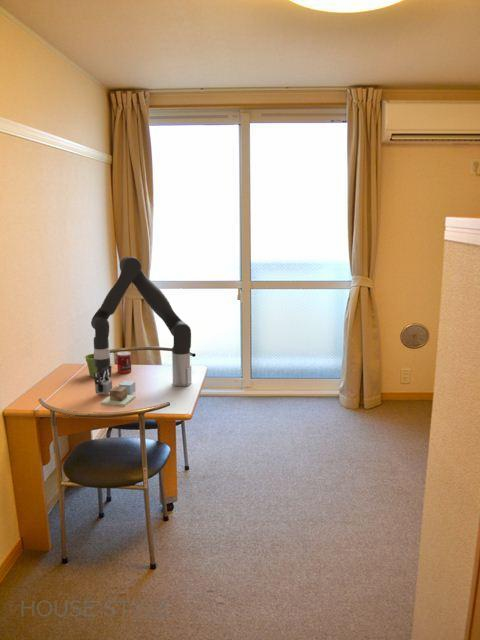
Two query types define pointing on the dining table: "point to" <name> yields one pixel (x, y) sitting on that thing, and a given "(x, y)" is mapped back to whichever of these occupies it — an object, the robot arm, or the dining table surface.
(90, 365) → the plant pot
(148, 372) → the dining table surface
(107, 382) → the grey block
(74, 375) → the dining table surface
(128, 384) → the blue block
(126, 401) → the plate
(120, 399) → the walnut block
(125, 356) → the canned food
